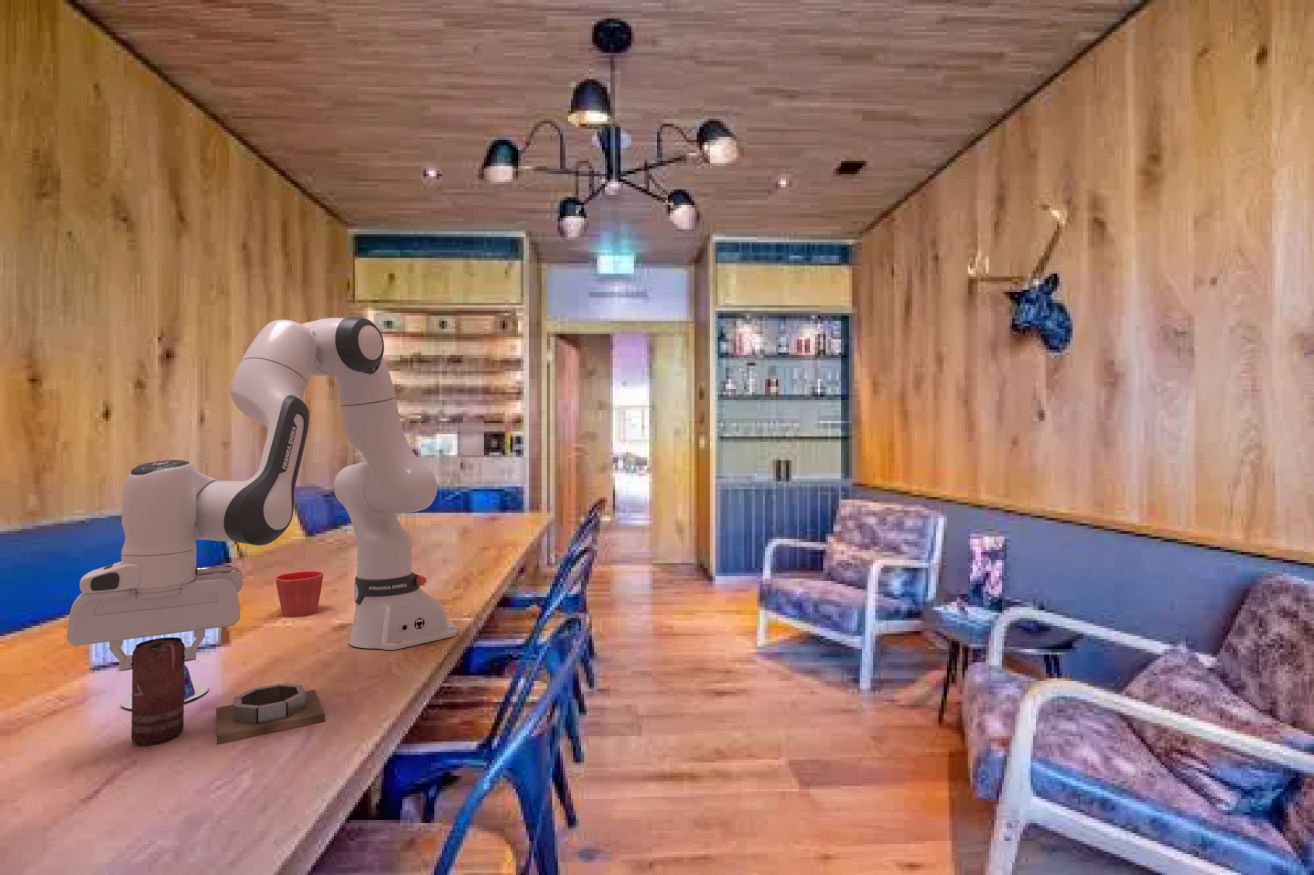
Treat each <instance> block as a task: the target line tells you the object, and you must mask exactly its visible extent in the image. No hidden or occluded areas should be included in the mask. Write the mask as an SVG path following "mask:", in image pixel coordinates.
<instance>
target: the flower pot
mask: <svg viewBox="0 0 1314 875" xmlns="http://www.w3.org/2000/svg"><path fill="white" fill-rule="evenodd" d="M323 580H324V572H322V571H315V570H312V571H311V570H310V571H309V570H308V571H295V572H289V573H283V574H280V575H277V576H276V577H275V585H276V590H277V596H278V600H279V604H280V609H281V614H282V616H284V617H287V618H299V617H306V616H309V615H313V614H315V613H317V612H318V609H319V604H320V603H319V602H320V598H321V593H322V586H323Z"/></svg>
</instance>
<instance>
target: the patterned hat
mask: <svg viewBox="0 0 1314 875" xmlns="http://www.w3.org/2000/svg"><path fill="white" fill-rule="evenodd" d="M209 688H210V687H209V684H206V683H205V682H197V681H193V680H192V678H191V675H190V672H189V668H188V667H187V665H186V664H184V703H186V702H189V701H191V700H194V699H195V698H198V697H200V696H202V695H204V694H205V693H206V692H208V690H209ZM120 706H121V707H123V708H125V709H128V710H129V709H131V710H132V694H130V695H128V696H126V697H124V699H122V700H121V701H120Z"/></svg>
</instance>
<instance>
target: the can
mask: <svg viewBox="0 0 1314 875" xmlns="http://www.w3.org/2000/svg"><path fill="white" fill-rule="evenodd" d="M185 646H186V645H185V644H184V642H183V640H182V638H181V637H176V636H175V637H171V636H170V637H168V636H167V637H159V638H154V639H148V640H145V641H142V642H141V641H140V642H139V643H137V644H136V645H135V647H134V649H133V651H132V655H133V656H132V657H133V661H132V664H133V666H132V670H131V680H132V681H131V695H132V709H131V731H130V732H131V733H130V734H131V740H132V742H133V743H134V744H135V745H137V746H153V745H154V746H155V745H159V744H164V743H166V742H169V741H171V740H174V739H176V738H178V736H180V735H181V733H182V732H183V730H184V729H185V726H184V725H185V723H184V722H185V702H184V665H185V662H184V656H185V655H184V649H185Z"/></svg>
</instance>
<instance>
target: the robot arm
mask: <svg viewBox="0 0 1314 875" xmlns="http://www.w3.org/2000/svg"><path fill="white" fill-rule="evenodd" d="M384 352H385V342H384V337H383V334H382V332H381V331H380V329H379V328H378V326H376V324H375V323H374V322H373V321H372V320H371V319H369V318H364V317H359V316H347V317H327V318H320V319H318V320H313V321H308V322H304V323H299V322H297V321H293V320H290V319H275V320H273V321H270V322H268V323H267V324H266V325H265V326H264V327H263V328H262V329H261V330H260V332H258V334H257V335H256V336H255V338H254V339H253V340H252V342H251V343H250V345H249V347H248V348H247V350H246V351H245V353H244V354H243V356H242V359H241V361H240V362H239V363H238V366H237V368H236V370H235V372H234V374H233V376H232V379H231V382H230V387H229V388H230V389H229V393H230V395H231V396H230V397H231V399H232V400H233V401H232V402H233V403H234V405H235V406H236V408H237V409H238V410H239V411H240V412H241V413H243V414H244V415H245V416H246V417H248V419H251V420H252V421H253V422H256V423H258V424H260V425H262V426H264V427H266V428H267V429H266V430H267V436H266V440H265V443H264V447H263V450H262V454H261V456H260V457H261V458H260V461H259V466H258V469H257V472H256V473H255V475H253V476H252V477H250V478H249V479H247V480H224V479H221V480H220V479H217V478H214V477H212V476H209V475H206V474H204V473H202V472H200V471H198V470H197V469H196V468H194V467H193V465H192V463H191V461H188V460H184V459H167V460H157V461H151V462H146V463H141V464H139V465H137V466H136V467H133V468H132V469H131V470H130V471H129V472H128V474H127V476H126V480H125V483H124V487H123V492H122V501H121V502H122V503H121V525H122V528H123V531H124V543H123V546H122V549H121V554H120V555H121V558H120V559H121V561H118V562H115V563H112V564H109V565H106V566H102V567H99V568H97V569H96V568H95V569H93V570H91V571H89V572H87V573H85V574H84V575H83V576H82V577H81V578H80V581H79V590H80V592H81V593H80V594H79V595H78V596H77V597H76V599H75V600H74V601H73V603H72V605H71V608H70V612H69V616H68V621H67V627H66V628H67V629H66V641H67V642H68V643H69V644H71V646H73V647H80V646H88V645H93V644H94V645H95V644H103V643H108V644H109V645H108V646H109V647H108V648H109V649H108V650H109V651H110V652H111V653H112V655H114V657H115V658H116V659H117V660H118V672H125V671H132V666H133V664H132V661H133V657H132V656H133V654H129V655H127V654H126V652H124V650H123V649H122V646H123V644H124V641H126V640H134V639H141V638H148V637H150V638H151V637H157V636H163V635H171V634H178V633H179V634H180V633H185V632H193V637H194V641H193V643H192V644H191V646H186V647H185V649H184V655H185V656H184V663H185V662H191V661H196V660H197V649H198V648H199V647H200V645H201V643H202V642H203V640H204V639H205V637H206V630H210V629H211V630H212V629H218V628H224V627H225V628H226V627H233V626H235V625H237V624H238V622H239V621H240V620H241V607H240V597H239V592H240V591H241V590H242V589H243V585H244V574H243V572H242V571H241V569H240V568H238V567H235V566H234V567H233V566H232V565H230V564H225V565H224V564H223V565H219V566H218V565H217V566H198V567H197V544H196V541H197V540H205V541H212V542H213V541H215V542H233V543H234V542H235V543H239V544H246V545H253V546H266V545H269V544H270V543H272V542H275V541H276V540H277V539H279V537H281V535H282V534H284V533H285V531H287V529H288V528H289V526H290V524H291V523H292V520H293V517H294V510H295V509H294V508H295V507H294V506H295V489H296V485H297V480H298V476H299V472H300V467H301V464H302V458H303V453H304V450H305V447H306V446H305V445H306V441H307V436H308V433H309V424H310V411H309V408H308V406H307V403H305V402H304V396H305V392H306V389H307V387H308V385H309V382H310V379H311V376H320V377H322V376H323V377H324V376H325V377H326V376H334V378H335V379H336V382H337V389H338V392H337V393H338V399H339V403H340V409H341V414H342V418H343V424H344V428H345V433H346V438H347V440H348V442H349V443H350V444H351V446H352V447H354V448H356V449H357V450H358V451H359V453H360V454H361V455H362V457H363V458H364V460H365V461H362V462H357V463H354V464H351V465H347V466H345V467H343V468H342V469H341V470H340V471H339V472H338V473H337V475H336V476H335V479H334V482H333V492H334V496H335V497H336V499H337V501H338V502H339V503H340V504H341V505H342V506H343V507H344V509H345V510H346V513H347V514H348V517H349V519H350V522H351V524H352V528H353V532H354V534H355V536H354V537H355V539H356V540H355V541H356V561H357V563H356V564H357V565H356V566H357V568H356V569H357V572H356V573H357V574H356V576H355V578H354V588H353V589H354V590H353V591H354V594H353V595H354V596H353V597H354V599H353V600H354V603H355V610H354V611H355V612H354V619H353V624H352V628H351V632H350V636H349V639H348V644H349V645H350V646H352V647H356V648H361V649H379V650H380V649H381V650H387V651H396V650H400V649H403V648H407V647H409V648H410V647H413V646H417V645H421V644H425V643H429V642H433V641H439V640H443V639H449V638H452V637H455V636H456V635H457V634H458V627H457V626H456V624H455V623H453V622H452V621H450V620H448V618H447V612H446V609H445V606H444V605H443V603H442V602H440V601H439V600H438V599H436V598H435V597H434V596H432V595H431V594H429V593H427V592H426V591H425V590H423V589H421V588H420V587H424V586H426V584H427V582H428V579H427V578H426V576H424V575H420V574H417V573H415V572H412V538H411V536H410V535H409V534H408V533H407V531H406V530H405V529H404V528H403V527H402V525H401V523H400V522H399V518H398V516H397V514H410V513H411V514H412V513H415V512H420V511H423V510H426V509H427V508H429V507H431V505H432V504H433V502H434V501H435V499H436V496H437V493H438V483H437V479H436V476H435V474H434V473H433V471H432V470H431V469H429V468H428V467H427V466H425V465H424V463H422V462H421V460H420V459H419V458H418V457H417V455H416V454H415V452H414V451H413V449H412V447H411V445H410V444H409V442H408V439H407V437H406V435H405V432H404V430H403V426H402V420H401V418H400V417H401V416H400V412H399V408H398V402H397V398H396V397H397V396H396V393H395V392H396V391H395V387H394V384H393V381H392V380H393V379H392V377H391V374H390V371H389V369H388V365H387V363H386V361H385V359H384Z"/></svg>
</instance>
